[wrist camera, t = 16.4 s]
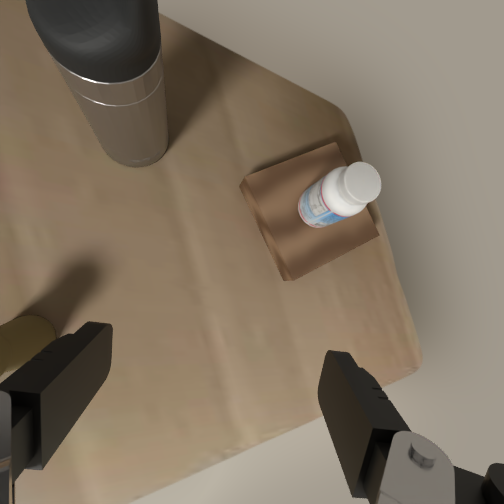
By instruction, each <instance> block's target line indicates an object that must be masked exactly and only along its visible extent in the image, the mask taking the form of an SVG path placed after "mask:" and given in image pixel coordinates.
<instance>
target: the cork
mask: <svg viewBox="0 0 504 504" xmlns="http://www.w3.org/2000/svg"><path fill="white" fill-rule="evenodd" d="M53 340H56V333H55V330H54V328H53V326H52V324H51V323H50V322H49V321H48V320H47V319H45V318H42V317H40V316H36V315H26V316H20V317H18V318H16V319H14V320H12V321H9V322H7V323H5V324H3V325H1V326H0V376H1V375H2V374H3V373H4V372H8V371H12V370H15V369H19V368H20V367H21V366H23V365H24V364H25V363H26V362H27V361H30V360H31V358H32V357H34V356H35V355H36V354H37V353H38V352H41V350H42V349H43V348H45V347H46V346H47V345H48V344H49V343H51V342H52V341H53Z"/></svg>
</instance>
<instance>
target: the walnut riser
mask: <svg viewBox="0 0 504 504" xmlns="http://www.w3.org/2000/svg"><path fill="white" fill-rule="evenodd" d="M344 166H346V167H348V166H347V164H346V162H345V160H344V158H343V156H342V154H341V151H340V149H339V147H338V145H337V143H336V142H333V143H331V144H328V145H325V146H323V147H320V148H318V149H315V150H313V151H310V152H307V153H305V154H302V155H300V156H297V157H294V158H292V159H289V160H287V161H284V162H281V163H279V164H276V165H274V166H271V167H268V168H266V169H263V170H261V171H258V172H256V173H253V174H250V175H248V176H245V177H244V179H243V181H242V182H241V184H240V186H239V187H240V189H241V191H242V193H243V195H244V197H245V199H246V202H247V204H248V206H249V208H250V210H251V212H252V214H253V216H254V219H255V221H256V223H257V225H258V227H259V229H260V231H261V234H262V236H263V238H264V240H265V242H266V244H267V246H268V248H269V251H270V253H271V255H272V257H273V259H274V261H275V263H276V265H277V268H278V270H279V272H280V274H281V276H282V278H283V280H284V281H290V280H295V279H297V278H299V277H301V276H303V275H305V274H307V273H309V272H311V271H313V270H314V269H316V268H318V267H320V266H322V265H324V264H326V263H328V262H330V261H332V260H333V259H335V258H337V257H339V256H341V255H343V254H345V253H347V252H349V251H350V250H352V249H354V248H356V247H358V246H360V245H362V244H364V243H366V242H368V241H369V240H371V239H373V238H375V237H377V236H379V233H378V231H377V229H376V226H375V224H374V222H373V220H372V218H371V216H370V214H369V211H368V209H367V207H366V206H365V208H364V209H363V210H362V211H361V212H359V213H357V214H355V215H353V216H351V217H348V218H346V219H343V220H341V221H338V222H336V223H333V224H331V225H328V226H326V227H322V228H315V227H312V226H309V225H308V224H306V223H305V222H304V221H303V219H302V218H301V216H300V214H299V211H298V203H299V199H300V197H301V195H302V193H303V192H304V191H305V190H306V189H308V188H309V187H311V186H312V185H313V184H315V183H316V182H317V181H319V180H320V179H321V178H323V177H324V176H325V175H327V174H328V173H329V172H331V171H332V170H334V169H336V168H338V167H344Z"/></svg>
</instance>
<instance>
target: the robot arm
mask: <svg viewBox="0 0 504 504" xmlns="http://www.w3.org/2000/svg"><path fill="white" fill-rule="evenodd" d="M26 4H27V9H28V13H29V16H30V18H31V21H32V23H33V25H34V27H35V29H36V31H37V33H38V35H39V36H40V38H41V40H42V42H43V43H44V45H45V47H46V48H47V50H48V52H49V54H50V55H51V57H52V59H53V61H54V62H55V64H56V66H57V68H58V69H59V71H60V73H61V74H62V76H63V78H64V80H65V81H66V83H67V85H68V87H69V89H70V90H71V92H72V94H73V96H74V97H75V99H76V101H77V103H78V104H79V106H80V108H81V110H82V112H83V113H84V115H85V117H86V119H87V120H88V122H89V124H90V126H91V127H92V129H93V131H94V133H95V135H96V137H97V138H98V140H99V142H100V144H101V145H102V147H103V149H104V150H105V152H106V153H107V154H108V155H109V156H110V157H111V158H112V159H113V160H115V161H117V162H118V163H120V164H123V165H126V166H131V167H144V166H148V165H151V164H153V163H155V162H156V161H158V160H159V159H160V158H161V157H162V156H163V155H164V153H165V151H166V149H167V147H168V142H169V135H168V121H167V108H166V95H165V83H164V70H163V59H162V46H161V33H160V23H159V13H158V3H157V0H26ZM112 334H113V328H112V325H111V324H108V323H99V322H91V321H89V322H87V323H85V324H84V325H83V326H82V327H81V328H80V329H79V330H77V331H76V332H75V333H74V334H67V335H64V336H62V337H60V338H58V339H56V340H53V341H52V342H51V343H49V344H48V345H47V346H46V347H45V348H43V349H42V350H41V352H38V353H37V354H36V355H35V356H34V357H32V358H31V360H30V361H27V362H26V363H25V364H24V365H23V366H21V367H20V368H19V369H18V370H16V371H15V372H14V373H13V374H11V375H10V376H9V377H8V378H7V379H5V380H4V381H3V382H2V383H0V504H15V480H16V479H17V478H18V477H19V475H20V474H21V473H22V471H23V470H24V469H33V470H43V468H44V467H45V465H46V464H47V462H48V461H49V460H50V458H51V457H52V455H53V454H54V453H55V451H56V450H57V448H58V447H59V445H60V444H61V443H62V441H63V440H64V438H65V437H66V435H67V434H68V433H69V431H70V430H71V428H72V427H73V426H74V424H75V423H76V421H77V420H78V418H79V417H80V416H81V414H82V413H83V411H84V410H85V408H86V407H87V406H88V404H89V403H90V401H91V400H92V399H93V397H94V396H95V394H96V393H97V391H98V390H99V389H100V387H101V386H102V384H103V383H104V381H105V380H106V378H107V376H108V373H109V371H110V367H111V357H112ZM318 401H319V405H320V407H321V410H322V413H323V416H324V419H325V422H326V424H327V427H328V430H329V433H330V435H331V438H332V441H333V444H334V447H335V450H336V453H337V455H338V458H339V461H340V464H341V467H342V469H343V472H344V475H345V478H346V481H347V484H348V486H349V489H350V492H351V495H352V497H355V498H367V499H368V501H369V503H370V504H504V464H500V463H494V464H492V465H490V466H489V468H488V470H487V473H486V475H485V477H483V476H480V475H478V474H475V473H472V472H469V471H467V470H464V469H461V468H458V467H456V466H453V465H452V463H451V461H450V459H449V458H448V456H447V455H446V454H445V453H444V452H443V451H442V450H441V449H440V448H439V447H438V446H437V445H436V444H434V443H433V442H432V441H430V440H429V439H427V438H425V437H423V436H421V435H419V434H416V433H414V432H412V431H411V430H410V429H409V427H408V426H407V424H406V423H405V421H404V420H403V418H402V417H401V416H400V414H399V413H398V411H397V410H396V408H395V407H394V406H393V404H392V403H391V401H390V400H388V397H387V395H386V394H385V392H384V391H382V388H381V387H380V385H379V384H378V382H377V381H376V379H375V378H374V377H373V376H372V375H371V374H369V373H368V372H367V371H366V370H365V369H363V368H360V367H358V365H357V364H356V362H355V361H354V359H353V358H352V356H351V355H350V353H348V352H340V351H332V350H328V351H327V353H326V355H325V360H324V364H323V368H322V372H321V377H320V381H319V385H318Z"/></svg>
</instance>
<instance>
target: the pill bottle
mask: <svg viewBox="0 0 504 504" xmlns="http://www.w3.org/2000/svg"><path fill="white" fill-rule="evenodd" d="M380 190H381V179H380V176H379V174H378V172H377V171H376V170H375V168H374V167H373V166H371V165H370V164H368V163H365V162H355V163H353V164H351V165H349V166H348V167H346V166H344V167H338V168H336V169H334V170H332V171H331V172H329V173H328V174H327V175H325V176H324V177H323V178H321V179H320V180H319V181H317V182H316V183H315V184H313V185H312V186H311V187H309V188H308V189H306V190H305V191H304V192H303V193H302V195H301V197H300V199H299V203H298V211H299V214H300V216H301V218H302V219H303V221H304V222H305V223H306V224H308V225H309V226H312V227H315V228H322V227H326V226H328V225H331V224H333V223H336V222H338V221H341V220H343V219H346V218H348V217H351V216H353V215H355V214H357V213H359V212H361V211H362V210H363V209H364V208H365V206H366V205H367V203H369V202H371V201H373V200H374V199H375V198H376V197H377V196H378V195H379V193H380Z"/></svg>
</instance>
